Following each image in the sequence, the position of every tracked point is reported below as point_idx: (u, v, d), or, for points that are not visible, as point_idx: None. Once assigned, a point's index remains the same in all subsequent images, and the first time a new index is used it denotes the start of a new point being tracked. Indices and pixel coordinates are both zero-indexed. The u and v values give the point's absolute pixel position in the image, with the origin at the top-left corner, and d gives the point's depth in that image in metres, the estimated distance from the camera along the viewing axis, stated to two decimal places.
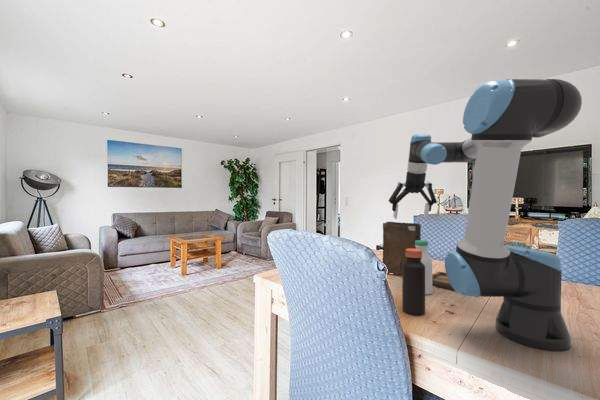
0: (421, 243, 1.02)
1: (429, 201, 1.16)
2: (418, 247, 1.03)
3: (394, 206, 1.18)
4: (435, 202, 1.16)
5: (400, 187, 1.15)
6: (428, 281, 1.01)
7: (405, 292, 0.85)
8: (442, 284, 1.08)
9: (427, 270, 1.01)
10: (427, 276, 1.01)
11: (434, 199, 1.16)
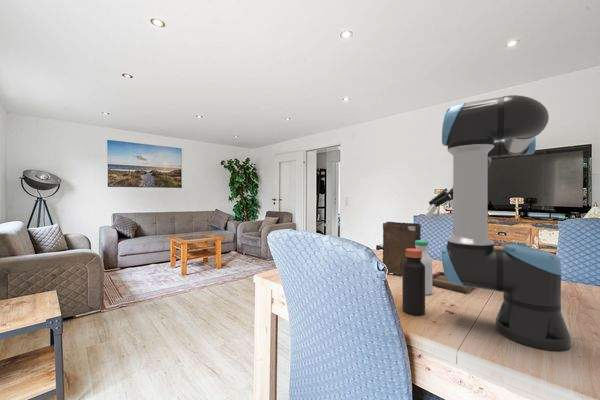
0: (421, 243, 1.02)
1: None
2: (418, 247, 1.03)
3: (431, 206, 1.17)
4: None
5: (443, 191, 1.18)
6: (428, 281, 1.01)
7: (405, 292, 0.85)
8: (442, 284, 1.08)
9: (427, 270, 1.01)
10: (427, 276, 1.01)
11: None
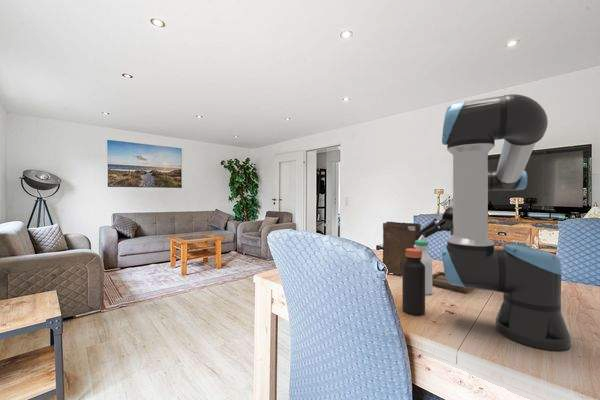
0: (421, 243, 1.02)
1: None
2: (418, 247, 1.03)
3: (420, 237, 1.16)
4: None
5: (433, 221, 1.16)
6: (428, 281, 1.01)
7: (405, 292, 0.85)
8: (442, 284, 1.08)
9: (427, 270, 1.01)
10: (427, 276, 1.01)
11: None
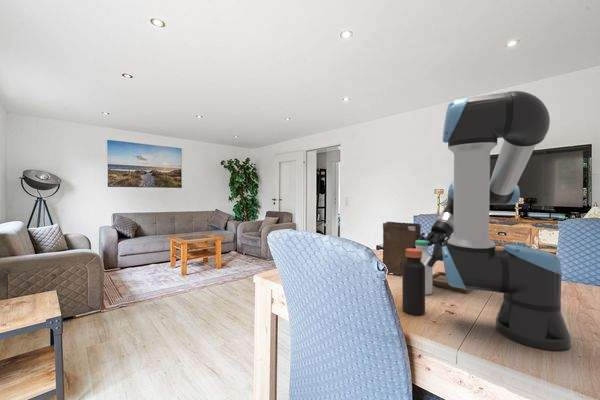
0: (421, 243, 1.02)
1: (433, 253, 1.01)
2: (418, 247, 1.03)
3: None
4: (437, 255, 0.99)
5: (421, 236, 1.12)
6: (428, 281, 1.01)
7: (405, 292, 0.85)
8: (442, 284, 1.08)
9: None
10: (427, 276, 1.01)
11: (439, 252, 0.99)
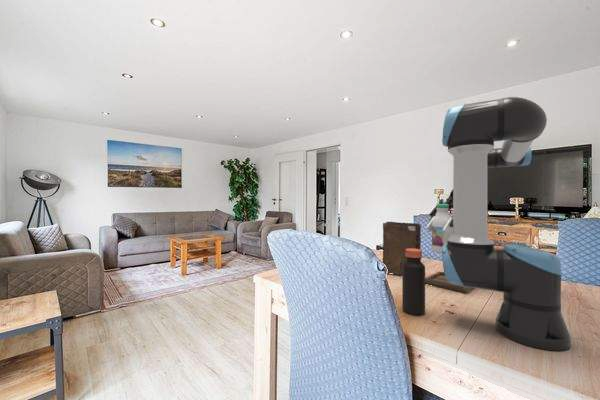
0: (443, 205, 1.08)
1: None
2: (440, 210, 1.09)
3: (431, 218, 1.15)
4: None
5: (440, 201, 1.19)
6: None
7: (405, 292, 0.85)
8: (442, 284, 1.08)
9: None
10: (448, 236, 1.07)
11: None
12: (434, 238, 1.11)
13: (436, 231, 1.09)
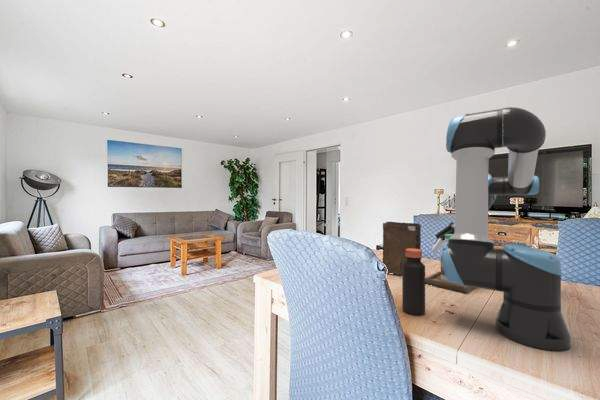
0: None
1: None
2: None
3: (437, 240, 1.20)
4: None
5: (450, 225, 1.21)
6: None
7: (405, 292, 0.85)
8: (442, 284, 1.08)
9: None
10: None
11: None
12: (442, 268, 1.13)
13: None
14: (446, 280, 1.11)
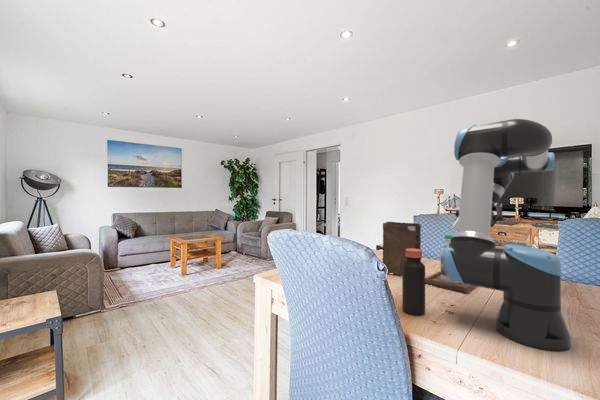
0: (451, 236, 1.11)
1: (492, 215, 1.12)
2: (448, 240, 1.12)
3: (457, 217, 1.25)
4: (498, 216, 1.10)
5: None
6: None
7: (405, 292, 0.85)
8: (442, 284, 1.08)
9: None
10: None
11: (498, 213, 1.11)
12: (442, 268, 1.13)
13: None
14: (446, 280, 1.11)
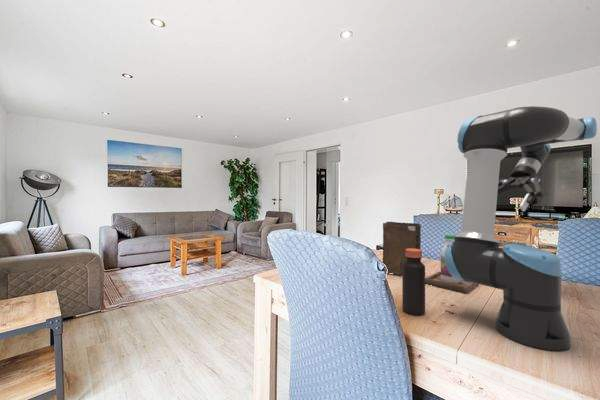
0: (451, 236, 1.11)
1: (530, 190, 1.00)
2: (448, 240, 1.12)
3: None
4: (538, 191, 0.98)
5: (500, 181, 1.14)
6: None
7: (405, 292, 0.85)
8: (442, 284, 1.08)
9: None
10: None
11: (537, 189, 0.99)
12: (442, 268, 1.13)
13: None
14: (446, 280, 1.11)
